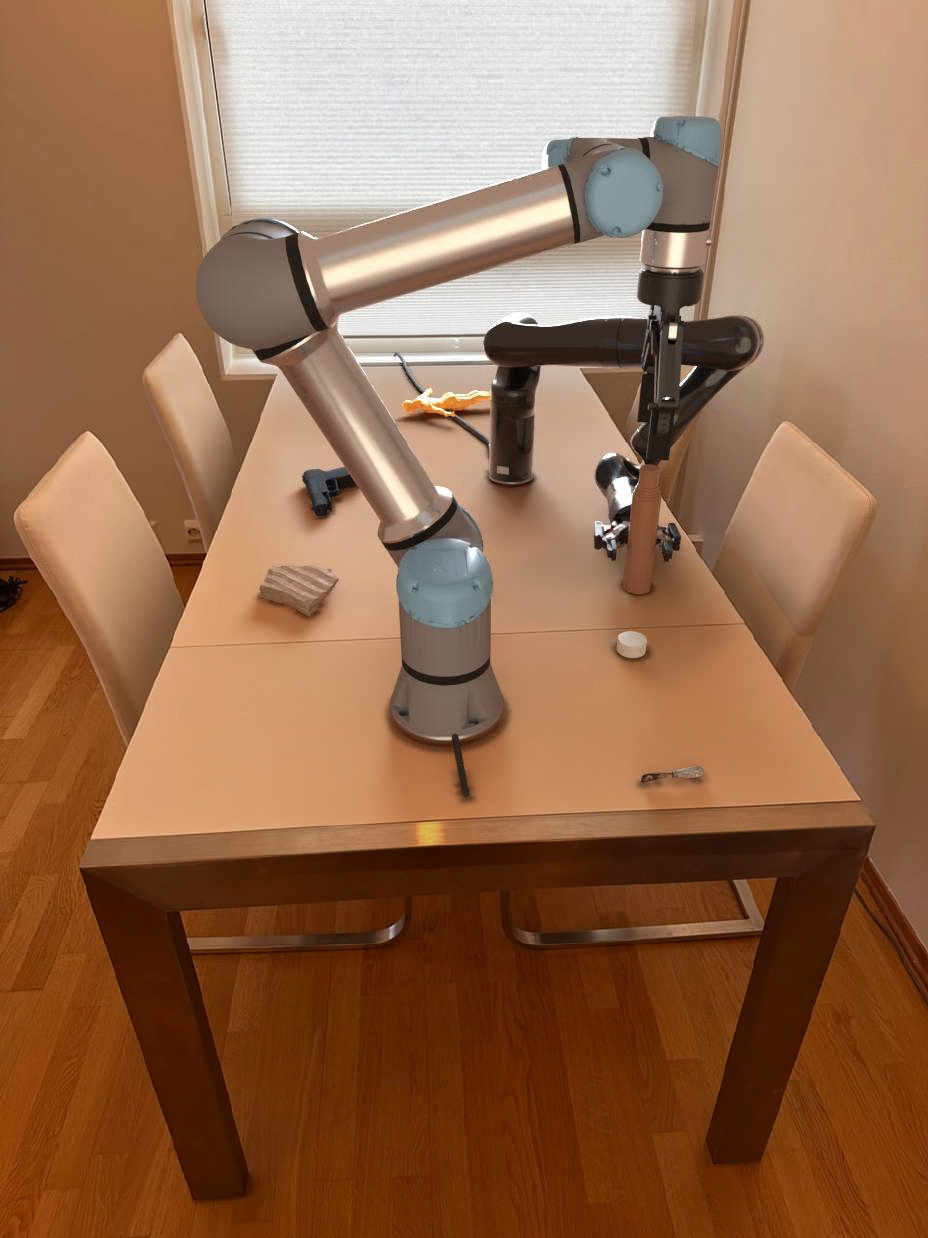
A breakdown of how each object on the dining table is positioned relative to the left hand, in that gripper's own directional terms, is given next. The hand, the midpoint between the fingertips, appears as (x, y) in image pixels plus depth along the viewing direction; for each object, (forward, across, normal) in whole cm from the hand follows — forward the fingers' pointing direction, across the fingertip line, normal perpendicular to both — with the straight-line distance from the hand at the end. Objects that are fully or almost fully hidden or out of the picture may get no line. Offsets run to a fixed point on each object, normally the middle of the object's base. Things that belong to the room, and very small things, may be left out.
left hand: (651, 439), depth 116 cm
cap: (+31, 0, 0) cm, 31 cm away
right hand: (+26, +18, -3) cm, 32 cm away
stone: (+33, +12, +53) cm, 64 cm away
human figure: (+33, +106, +36) cm, 117 cm away
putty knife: (+33, -28, -3) cm, 44 cm away
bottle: (+33, +19, -3) cm, 38 cm away
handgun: (+33, +52, +55) cm, 82 cm away
